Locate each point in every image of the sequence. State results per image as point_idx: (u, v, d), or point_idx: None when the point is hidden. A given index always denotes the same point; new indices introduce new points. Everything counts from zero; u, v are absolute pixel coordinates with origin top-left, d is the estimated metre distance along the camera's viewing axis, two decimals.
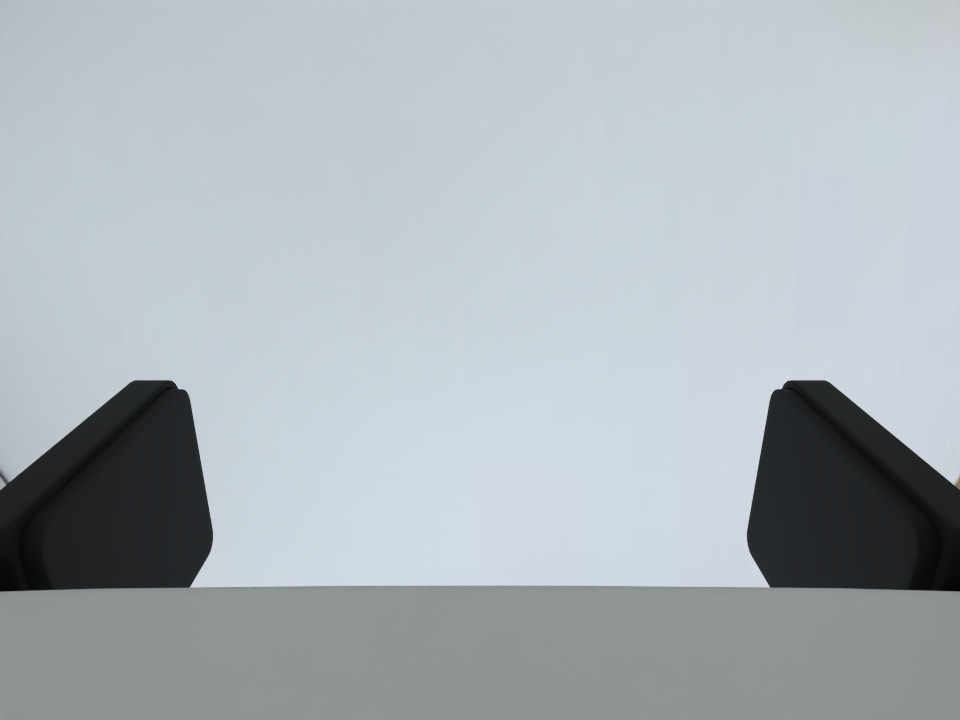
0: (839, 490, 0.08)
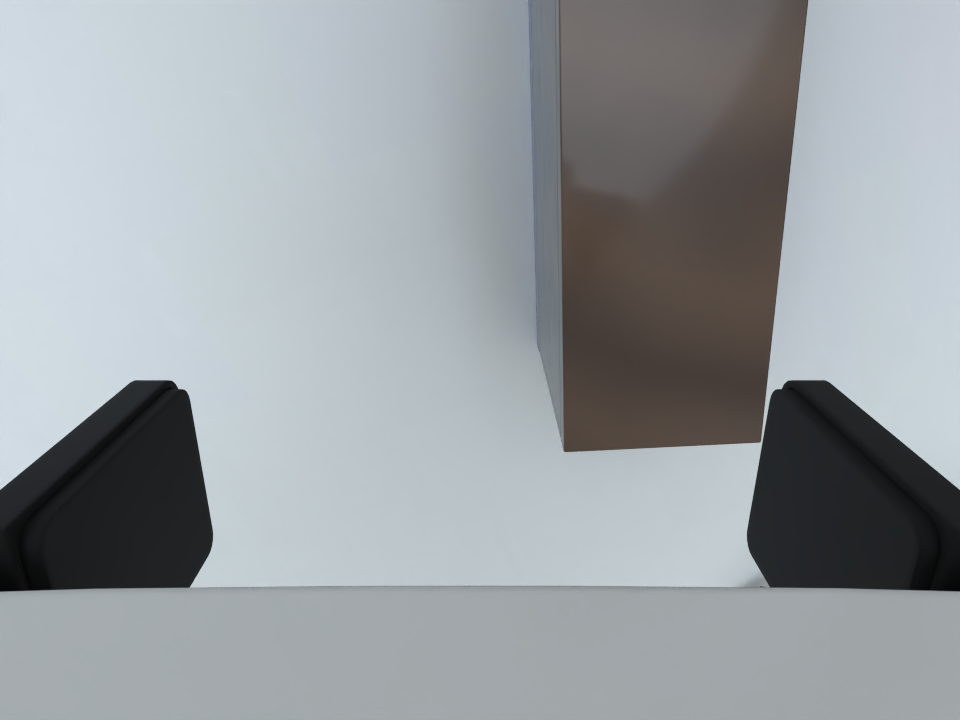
0: (839, 490, 0.08)
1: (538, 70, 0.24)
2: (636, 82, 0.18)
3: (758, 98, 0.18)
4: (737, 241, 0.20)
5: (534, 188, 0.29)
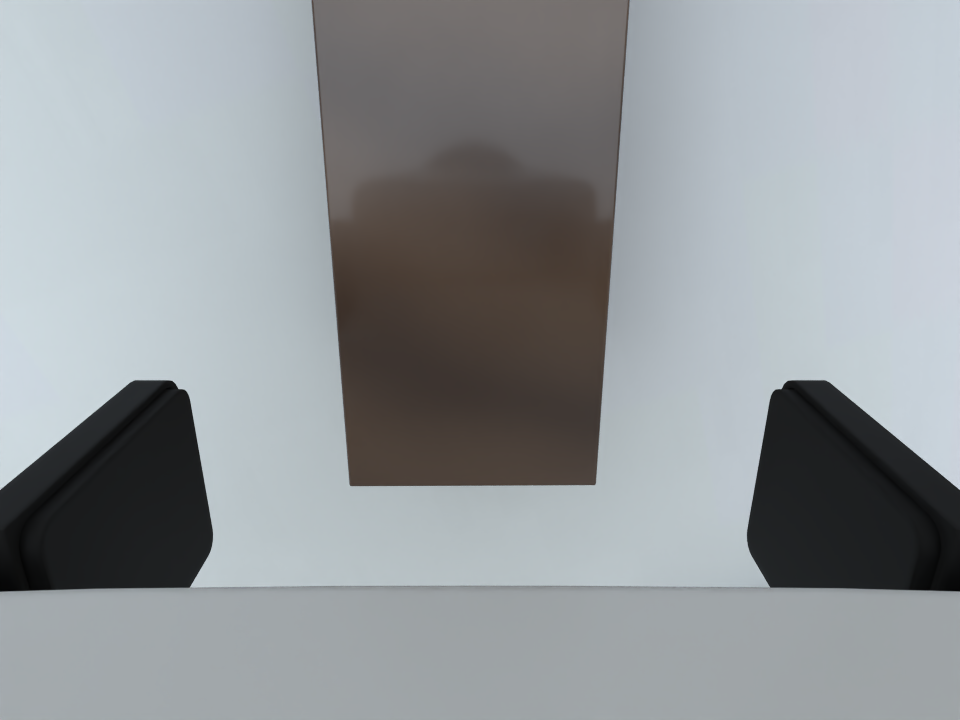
0: (839, 490, 0.08)
1: None
2: (413, 8, 0.14)
3: (574, 40, 0.14)
4: (555, 229, 0.15)
5: None
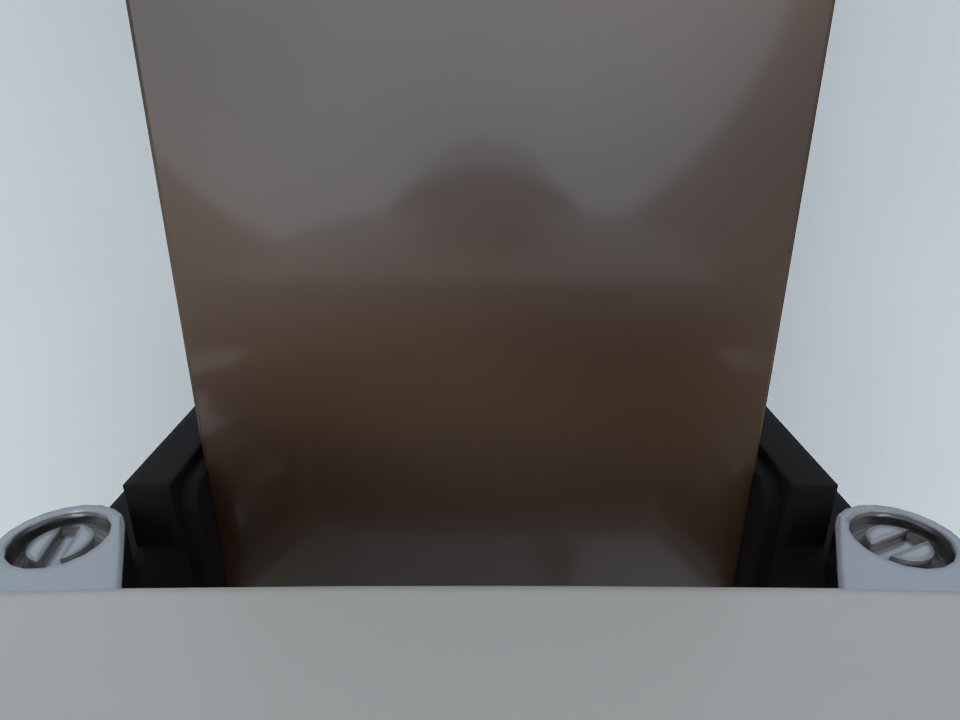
0: None
1: None
2: None
3: None
4: (656, 338, 0.07)
5: None
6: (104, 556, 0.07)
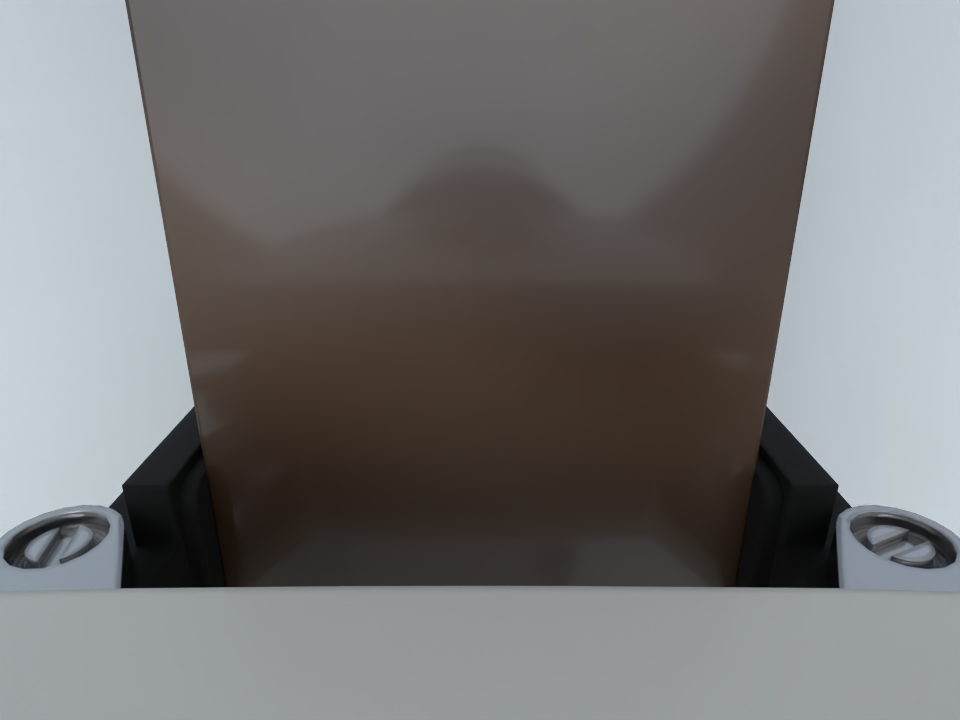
0: None
1: None
2: None
3: None
4: (656, 337, 0.07)
5: None
6: (103, 556, 0.07)
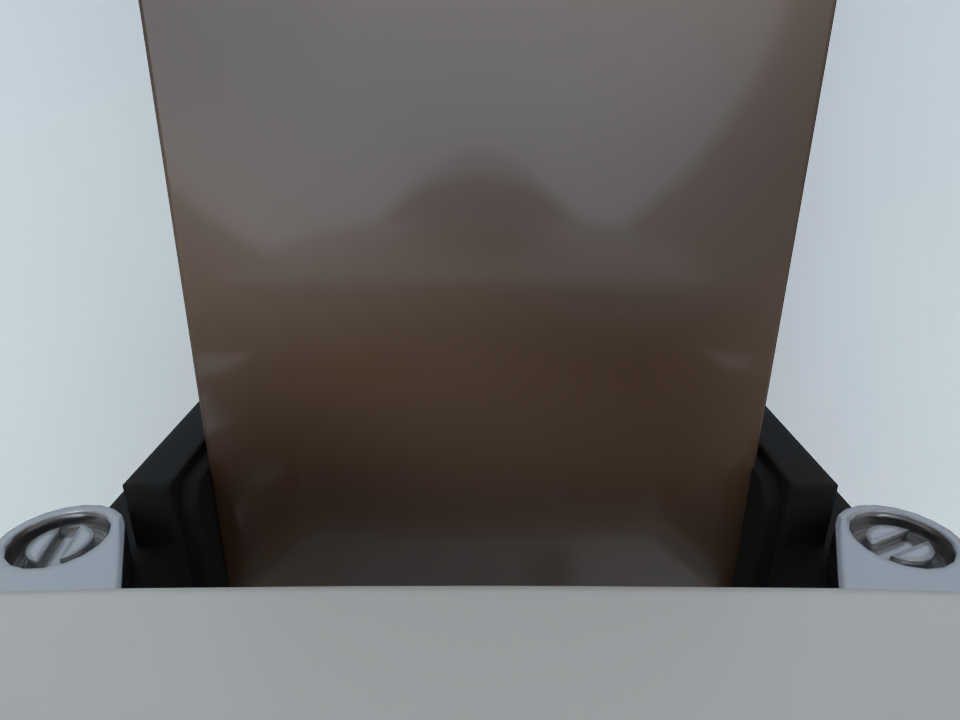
0: None
1: None
2: None
3: None
4: (657, 338, 0.07)
5: None
6: (104, 556, 0.07)
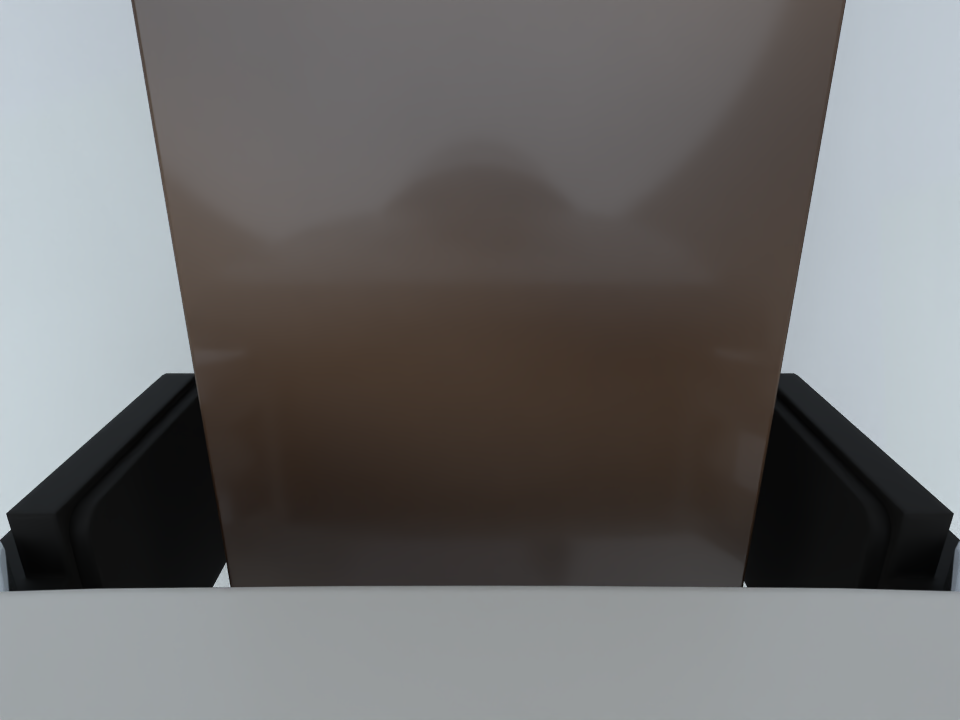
0: (801, 478, 0.09)
1: None
2: None
3: None
4: (666, 323, 0.07)
5: None
6: None
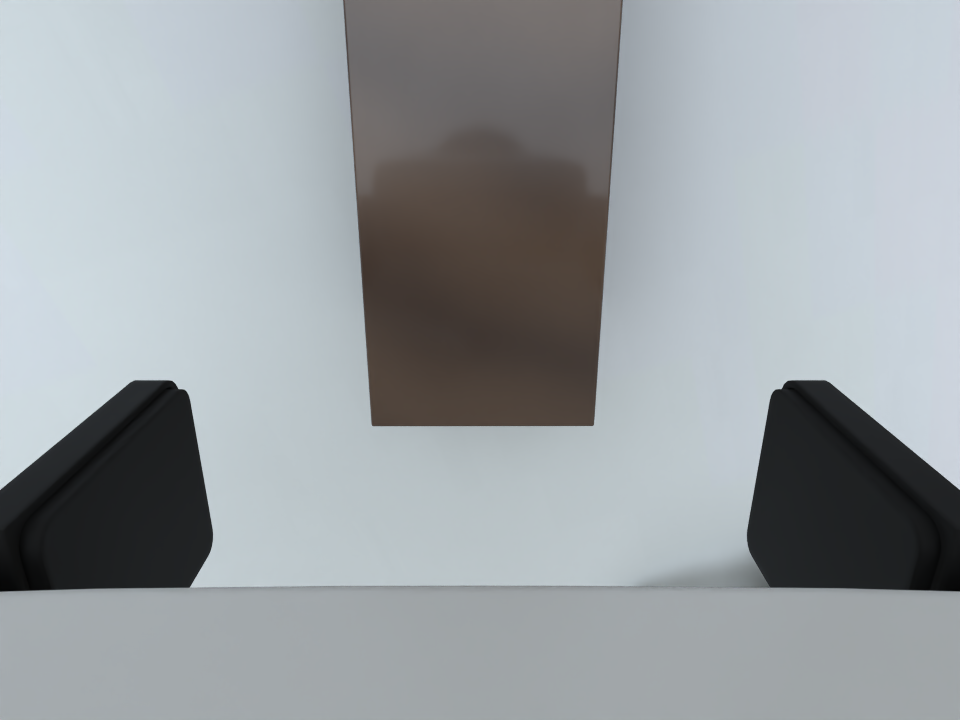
0: (839, 490, 0.08)
1: None
2: None
3: (575, 19, 0.16)
4: (557, 190, 0.17)
5: None
6: None
